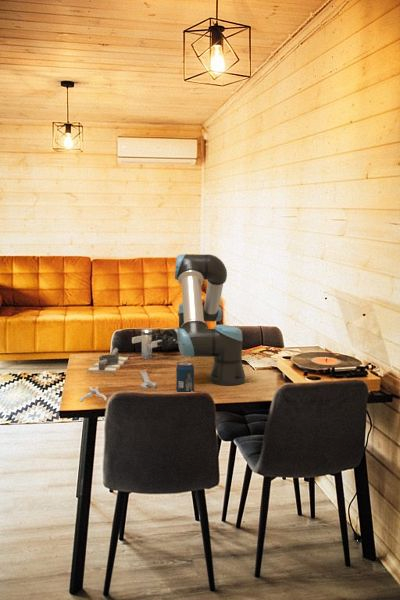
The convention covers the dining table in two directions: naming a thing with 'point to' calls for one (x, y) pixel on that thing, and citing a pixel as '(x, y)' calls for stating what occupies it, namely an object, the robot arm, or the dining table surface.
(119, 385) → the dining table surface
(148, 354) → the coupler
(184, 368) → the soda can
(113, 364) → the coupling base
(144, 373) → the adjustable wrench
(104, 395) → the pliers
